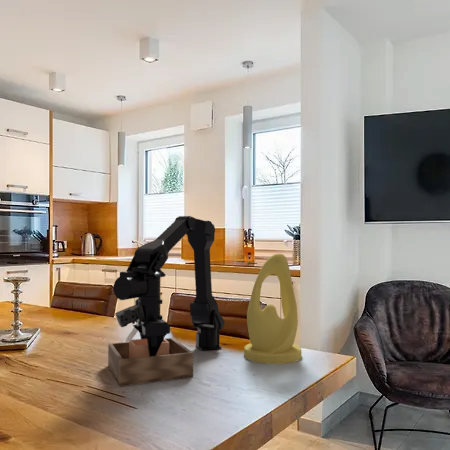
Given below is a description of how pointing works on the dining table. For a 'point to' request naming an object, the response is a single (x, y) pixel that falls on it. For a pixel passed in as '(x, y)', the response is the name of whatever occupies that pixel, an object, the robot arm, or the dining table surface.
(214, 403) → the dining table surface
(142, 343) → the small crate
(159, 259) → the robot arm
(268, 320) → the sculpture
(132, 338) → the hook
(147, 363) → the big crate
